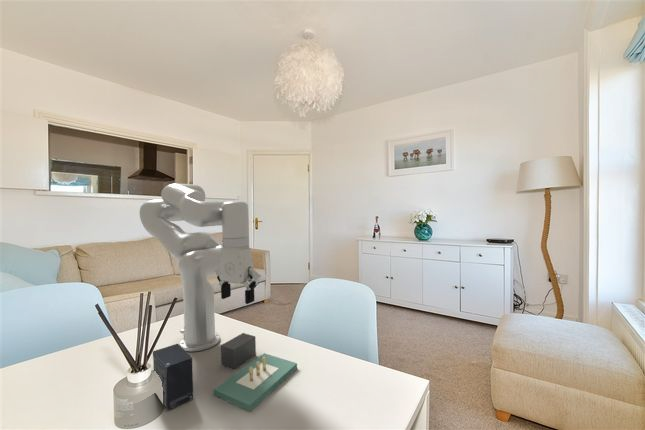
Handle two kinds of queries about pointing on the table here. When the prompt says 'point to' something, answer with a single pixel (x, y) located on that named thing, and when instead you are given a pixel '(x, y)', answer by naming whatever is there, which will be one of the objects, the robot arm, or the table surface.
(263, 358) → the header pins
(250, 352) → the block
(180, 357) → the small box
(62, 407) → the table surface
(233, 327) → the table surface
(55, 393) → the table surface
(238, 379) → the board
